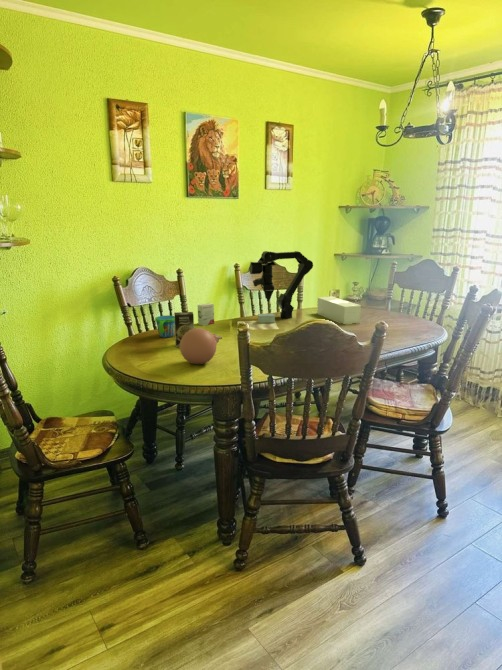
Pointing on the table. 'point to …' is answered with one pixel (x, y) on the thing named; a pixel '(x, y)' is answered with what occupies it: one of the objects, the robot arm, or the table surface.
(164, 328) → the snack cup
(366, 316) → the table surface
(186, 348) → the balloon
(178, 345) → the coffee box
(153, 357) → the table surface
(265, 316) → the block
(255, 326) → the maple board
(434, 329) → the table surface
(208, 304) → the ink box
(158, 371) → the table surface
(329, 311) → the stack of papers
